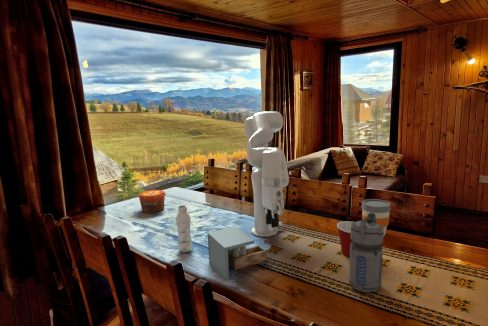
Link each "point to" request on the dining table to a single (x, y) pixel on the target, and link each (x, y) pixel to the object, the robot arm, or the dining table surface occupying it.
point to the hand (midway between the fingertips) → (272, 224)
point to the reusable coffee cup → (377, 211)
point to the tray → (246, 256)
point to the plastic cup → (345, 236)
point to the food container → (152, 201)
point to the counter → (225, 247)
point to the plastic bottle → (183, 230)
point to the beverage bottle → (366, 254)
